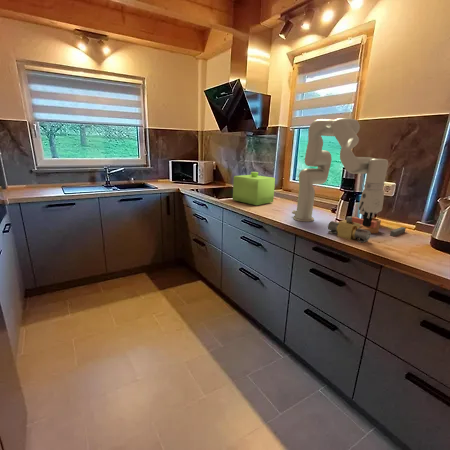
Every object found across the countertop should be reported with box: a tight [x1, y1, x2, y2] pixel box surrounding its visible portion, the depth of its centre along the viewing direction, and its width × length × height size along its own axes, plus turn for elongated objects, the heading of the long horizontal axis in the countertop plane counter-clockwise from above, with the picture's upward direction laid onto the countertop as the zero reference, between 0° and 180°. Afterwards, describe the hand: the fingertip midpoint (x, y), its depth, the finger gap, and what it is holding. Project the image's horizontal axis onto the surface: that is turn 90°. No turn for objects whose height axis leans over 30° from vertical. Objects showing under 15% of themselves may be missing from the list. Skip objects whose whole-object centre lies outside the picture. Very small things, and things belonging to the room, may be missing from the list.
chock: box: [389, 226, 407, 237], centre depth 148 cm, size 2×14×2 cm, turn 127°
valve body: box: [327, 219, 372, 244], centre depth 139 cm, size 20×7×8 cm, turn 37°
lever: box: [345, 216, 377, 228], centre depth 133 cm, size 14×4×3 cm, turn 35°
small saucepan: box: [359, 217, 382, 234], centre depth 150 cm, size 18×8×7 cm, turn 104°
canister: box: [232, 171, 276, 206], centre depth 218 cm, size 25×21×23 cm
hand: (366, 225), depth 128 cm, fingers closed
